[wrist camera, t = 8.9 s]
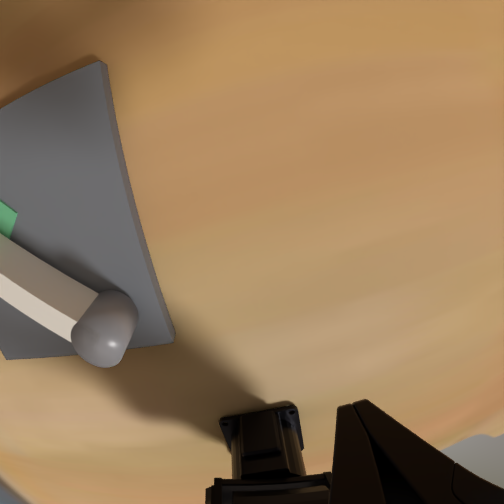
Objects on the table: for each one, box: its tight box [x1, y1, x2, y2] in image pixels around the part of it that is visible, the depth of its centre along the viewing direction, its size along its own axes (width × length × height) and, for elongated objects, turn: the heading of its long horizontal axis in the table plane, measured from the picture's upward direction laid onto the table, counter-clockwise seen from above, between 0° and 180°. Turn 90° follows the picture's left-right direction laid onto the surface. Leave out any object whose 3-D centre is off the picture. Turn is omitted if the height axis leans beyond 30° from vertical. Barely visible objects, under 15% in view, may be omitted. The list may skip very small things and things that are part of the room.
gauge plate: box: [0, 61, 176, 360], centre depth 18 cm, size 18×16×1 cm
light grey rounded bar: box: [0, 233, 139, 368], centre depth 16 cm, size 16×3×4 cm, turn 60°
